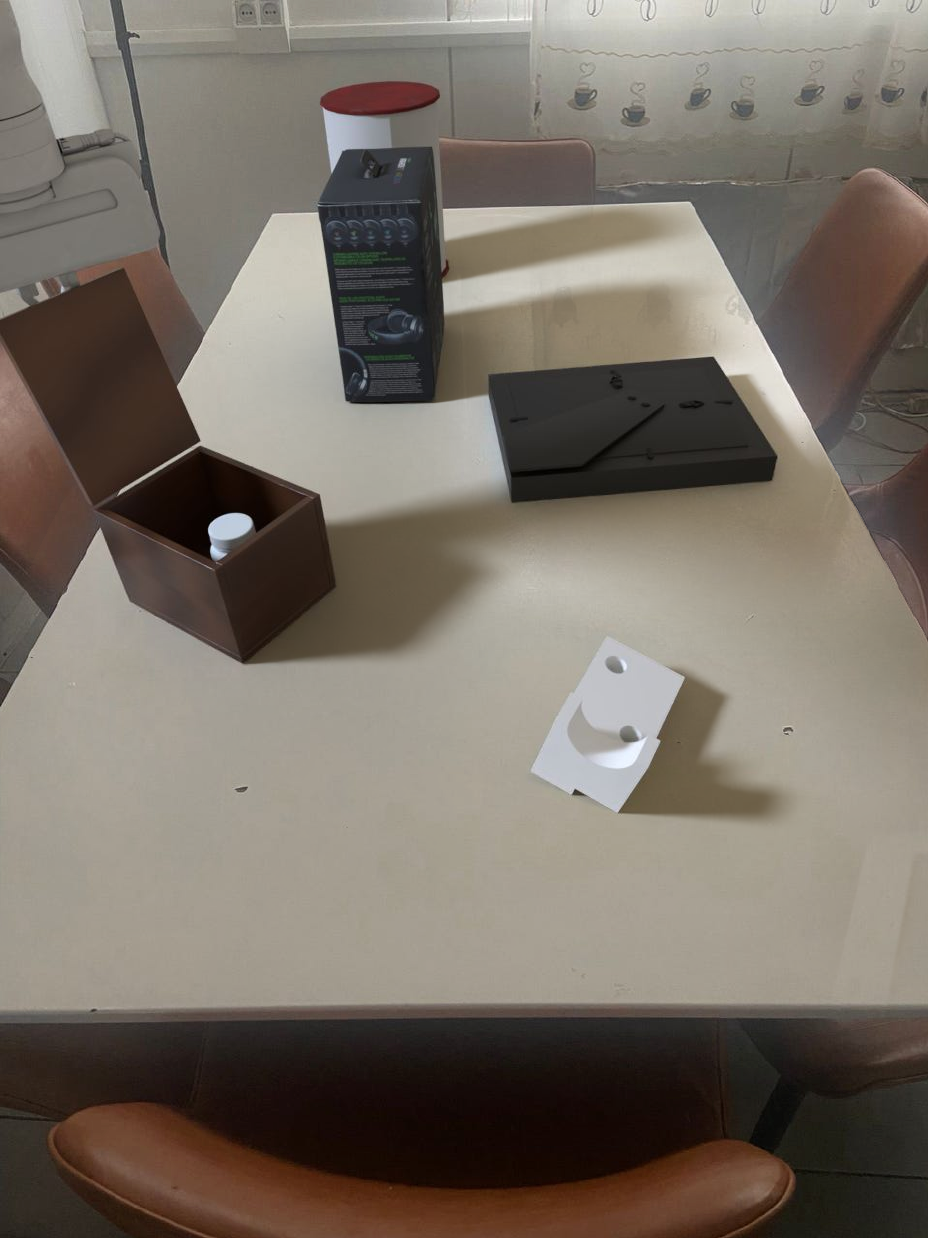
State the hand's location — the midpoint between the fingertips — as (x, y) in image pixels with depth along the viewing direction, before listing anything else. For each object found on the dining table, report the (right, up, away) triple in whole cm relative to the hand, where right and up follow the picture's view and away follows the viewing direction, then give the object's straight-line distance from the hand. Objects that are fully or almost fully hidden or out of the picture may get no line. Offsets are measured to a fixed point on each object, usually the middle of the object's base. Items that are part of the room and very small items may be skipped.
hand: (63, 327), depth 76 cm
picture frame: (+53, -4, +28) cm, 60 cm away
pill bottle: (+14, -23, +8) cm, 28 cm away
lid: (+4, -5, +1) cm, 6 cm away
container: (+23, +31, +68) cm, 78 cm away
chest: (+12, -23, +10) cm, 27 cm away
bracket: (+46, -35, -5) cm, 58 cm away
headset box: (+25, +9, +44) cm, 52 cm away
